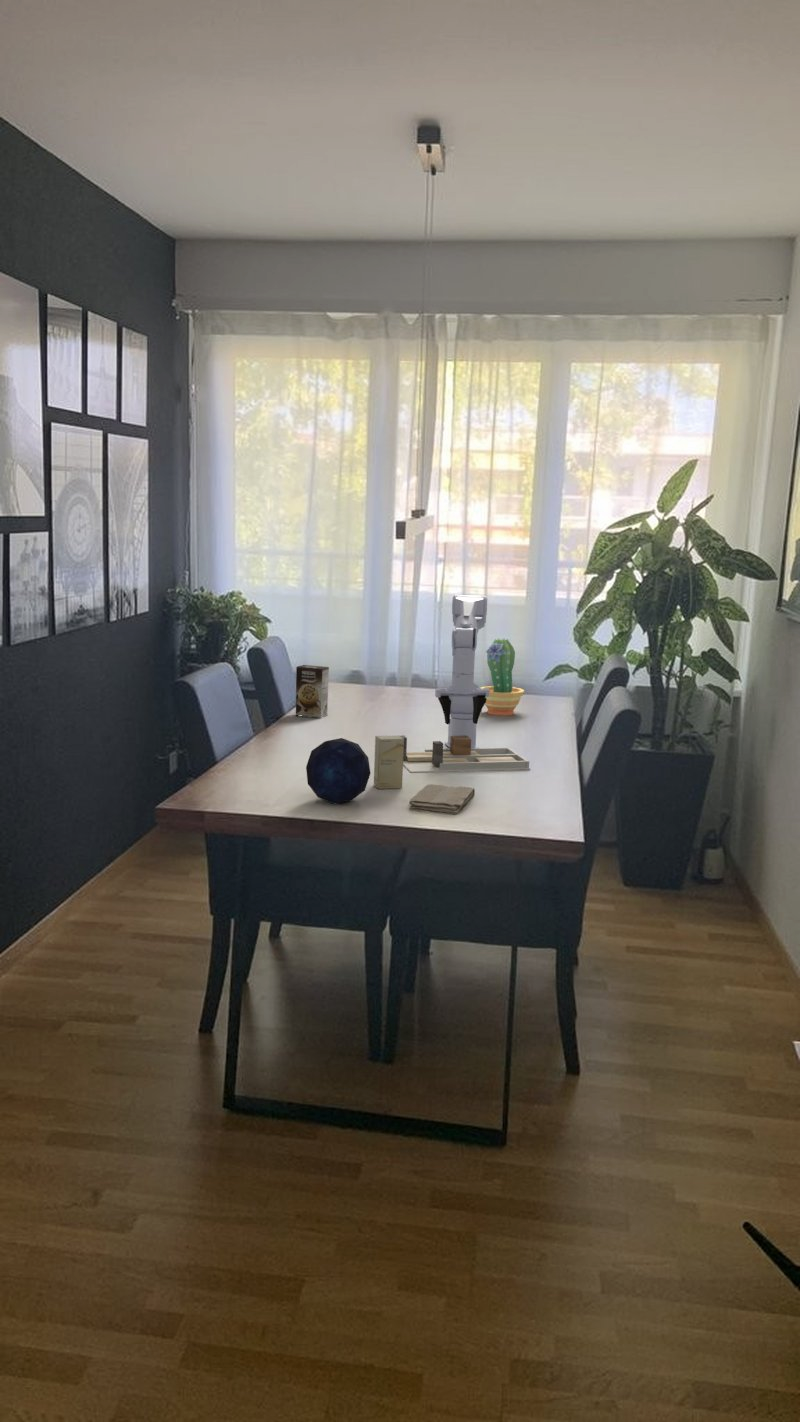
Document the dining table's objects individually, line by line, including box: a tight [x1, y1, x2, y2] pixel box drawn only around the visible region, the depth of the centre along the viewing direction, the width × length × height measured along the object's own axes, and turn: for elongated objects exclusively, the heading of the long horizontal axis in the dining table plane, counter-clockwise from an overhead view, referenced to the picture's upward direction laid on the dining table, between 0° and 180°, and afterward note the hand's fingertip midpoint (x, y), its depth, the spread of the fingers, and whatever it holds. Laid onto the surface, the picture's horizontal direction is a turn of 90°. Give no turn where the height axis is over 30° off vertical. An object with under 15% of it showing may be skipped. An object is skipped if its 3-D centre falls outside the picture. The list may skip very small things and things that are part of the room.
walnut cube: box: [449, 735, 471, 755], centre depth 278 cm, size 4×4×4 cm
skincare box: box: [373, 735, 404, 790], centre depth 247 cm, size 6×4×12 cm
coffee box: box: [295, 664, 330, 719], centre depth 334 cm, size 9×6×16 cm
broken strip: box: [432, 740, 517, 766], centre depth 271 cm, size 6×22×6 cm, turn 102°
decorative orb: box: [305, 737, 371, 804], centre depth 234 cm, size 14×15×15 cm
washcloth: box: [408, 783, 476, 815], centre depth 235 cm, size 12×18×3 cm, turn 165°
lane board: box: [403, 746, 531, 774], centre depth 275 cm, size 18×32×2 cm, turn 102°
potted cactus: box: [480, 638, 525, 716], centre depth 347 cm, size 15×15×25 cm
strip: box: [400, 735, 480, 761], centre depth 277 cm, size 6×22×6 cm, turn 103°
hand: (461, 723), depth 277 cm, fingers open, 7 cm apart
